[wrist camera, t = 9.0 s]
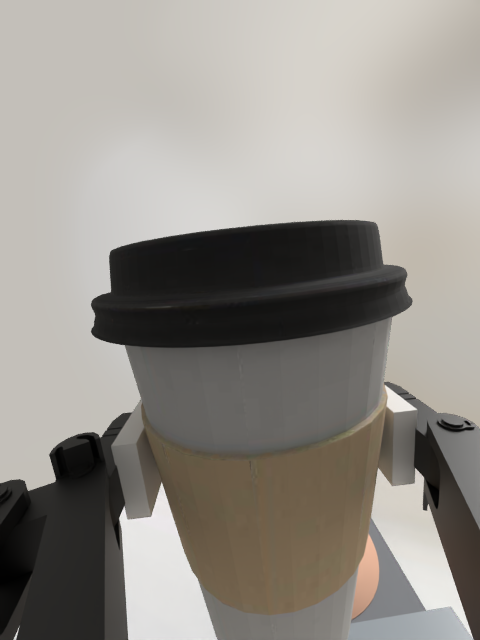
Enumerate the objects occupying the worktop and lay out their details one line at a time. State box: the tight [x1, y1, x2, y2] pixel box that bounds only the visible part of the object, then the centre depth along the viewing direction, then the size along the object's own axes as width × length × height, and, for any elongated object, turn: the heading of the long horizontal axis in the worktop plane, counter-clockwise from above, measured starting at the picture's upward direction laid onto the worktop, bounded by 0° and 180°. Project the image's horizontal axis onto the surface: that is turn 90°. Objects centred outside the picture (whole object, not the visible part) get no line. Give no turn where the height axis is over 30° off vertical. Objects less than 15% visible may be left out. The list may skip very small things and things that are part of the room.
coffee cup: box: [91, 220, 412, 640], centre depth 10 cm, size 9×9×15 cm
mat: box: [351, 519, 426, 623], centre depth 22 cm, size 12×11×1 cm
